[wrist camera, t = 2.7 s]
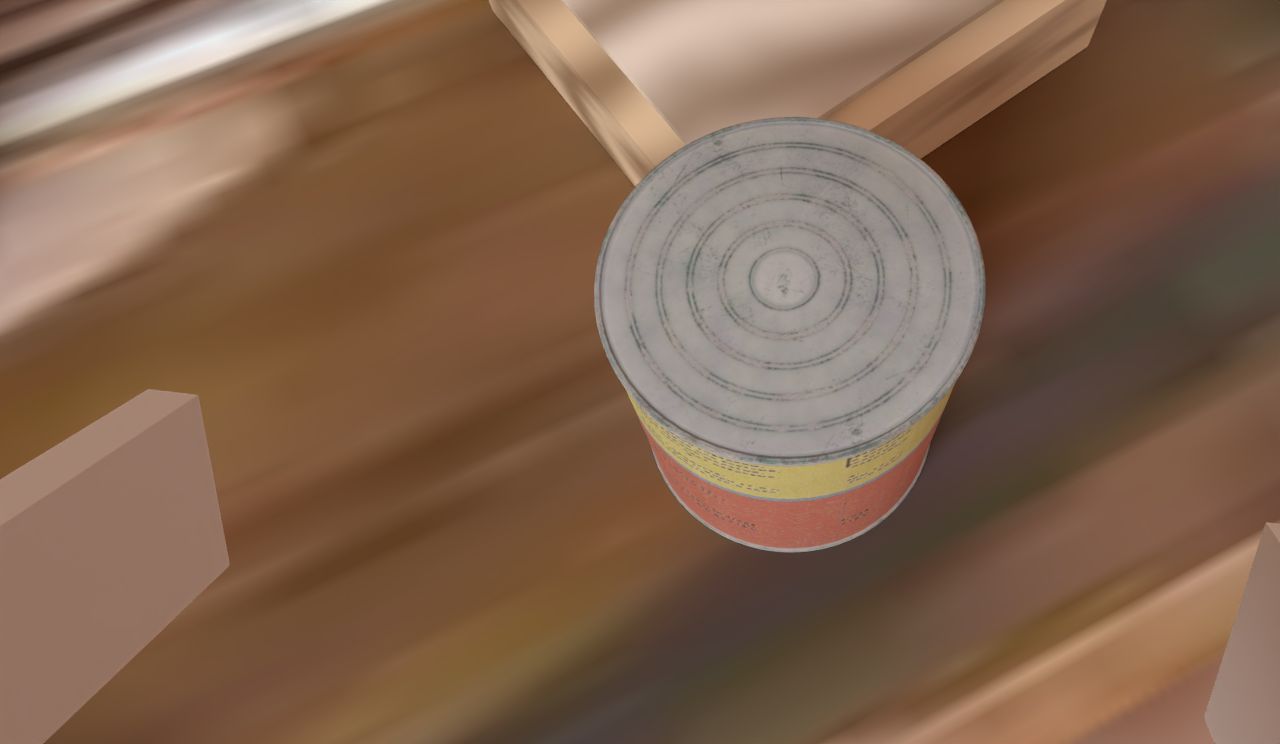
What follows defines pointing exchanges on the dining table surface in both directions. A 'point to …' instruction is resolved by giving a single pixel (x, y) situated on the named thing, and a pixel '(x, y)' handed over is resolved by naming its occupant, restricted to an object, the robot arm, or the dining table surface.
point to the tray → (790, 63)
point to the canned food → (790, 324)
